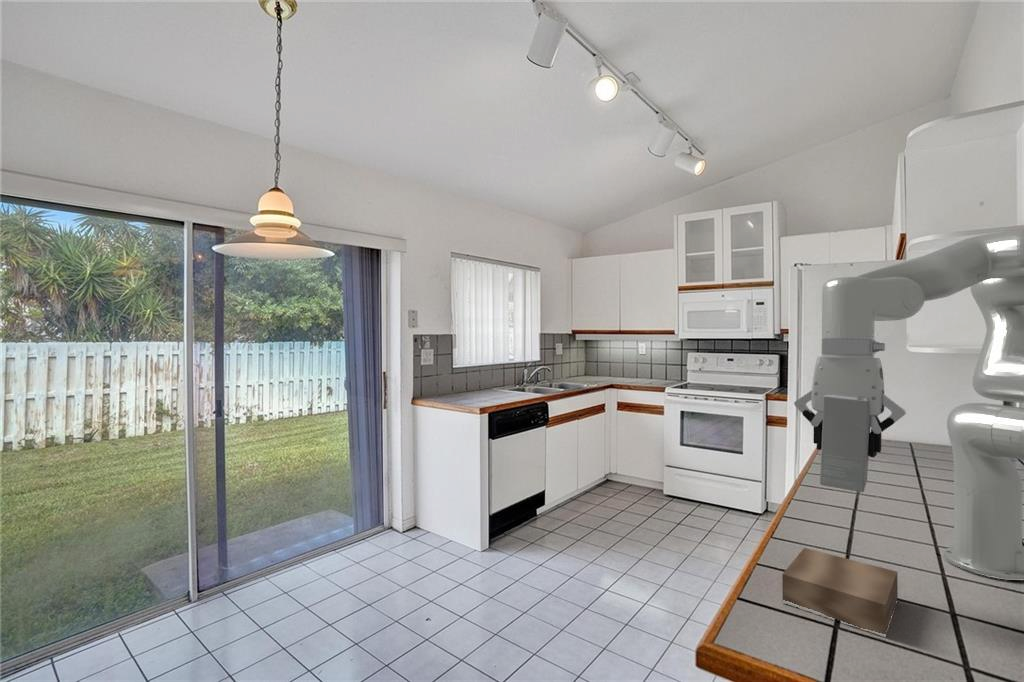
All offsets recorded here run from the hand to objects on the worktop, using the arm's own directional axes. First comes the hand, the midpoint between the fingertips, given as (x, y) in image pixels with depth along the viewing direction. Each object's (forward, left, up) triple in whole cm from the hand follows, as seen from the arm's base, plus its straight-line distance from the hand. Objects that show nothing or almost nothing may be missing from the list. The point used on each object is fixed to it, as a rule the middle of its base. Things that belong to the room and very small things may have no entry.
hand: (846, 451), depth 85 cm
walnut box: (0, +3, -25) cm, 25 cm away
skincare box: (0, 0, -6) cm, 6 cm away
